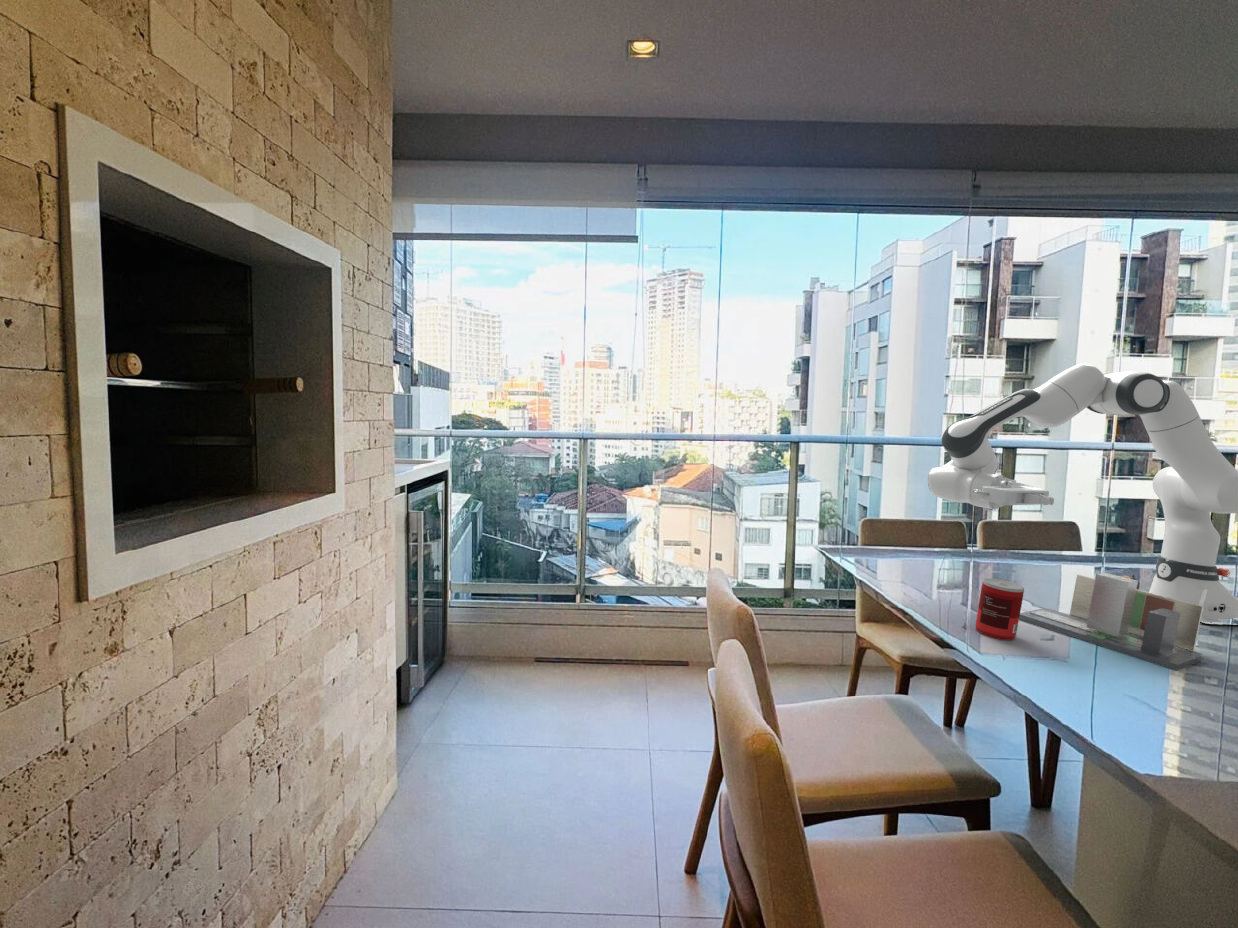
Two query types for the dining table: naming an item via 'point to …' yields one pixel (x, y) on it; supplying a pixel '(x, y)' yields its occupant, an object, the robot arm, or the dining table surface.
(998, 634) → the canned food
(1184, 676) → the dining table surface
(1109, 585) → the brushed steel slab
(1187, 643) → the base
